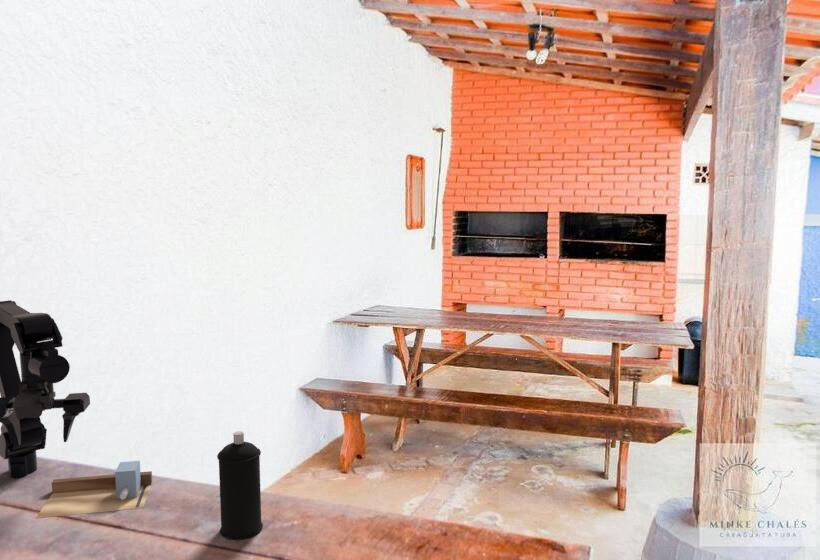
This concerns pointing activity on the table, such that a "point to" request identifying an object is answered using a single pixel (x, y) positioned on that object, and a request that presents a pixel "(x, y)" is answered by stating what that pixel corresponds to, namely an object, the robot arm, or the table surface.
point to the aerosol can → (240, 489)
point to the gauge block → (128, 479)
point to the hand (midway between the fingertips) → (42, 443)
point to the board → (91, 496)
